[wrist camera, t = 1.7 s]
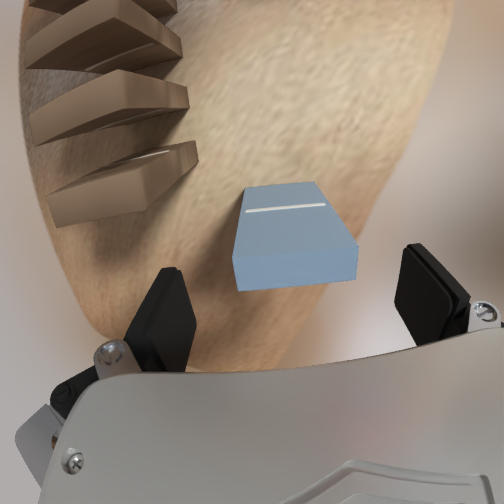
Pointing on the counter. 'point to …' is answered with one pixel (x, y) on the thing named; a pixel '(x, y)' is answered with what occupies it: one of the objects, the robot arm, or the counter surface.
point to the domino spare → (291, 239)
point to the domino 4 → (122, 185)
